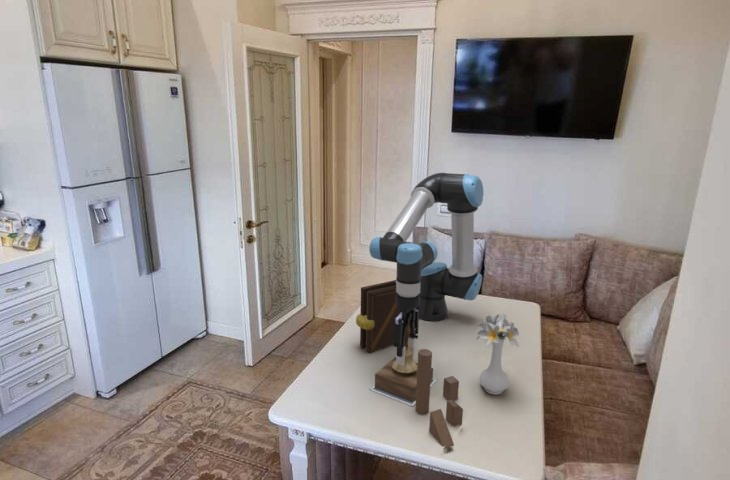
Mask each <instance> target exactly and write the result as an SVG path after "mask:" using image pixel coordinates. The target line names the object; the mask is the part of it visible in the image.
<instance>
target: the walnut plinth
mask: <svg viewBox="0 0 730 480" xmlns="http://www.w3.org/2000/svg"><path fill="white" fill-rule="evenodd" d="M395 361H396V356H395V357H394V358H392V359H391V360H389V362H388V363H386V364H385V365H384V366H382V367H381V368H380V369H379V370H378V371H377V372H376V373H375V374H374V385H375V388H377V389H379V390H382V391H385V392H387V393H390V394H392V395H395V396H398V397H400V398H403V399H405V400H408V401H411V402H414V401H415V400H416V387H417V370H416V371H414V372H412V373H400V372H397V371H395V370H394V369H393V367H392V364H393V363H394V362H395ZM414 362H415V361H414ZM415 363H416V364H417V366H418V362H415ZM433 378H434V367H431V380H430V384H431V383H432V382H433Z"/></svg>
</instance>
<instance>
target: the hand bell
mask: <svg viewBox="0 0 730 480" xmlns="http://www.w3.org/2000/svg"><path fill="white" fill-rule="evenodd" d="M409 335H410V325H409V326H408V327H407V332H406V337H405V343H404V346H405V365H404V366H402V365H399V364H396V361H395V362H394V363H393V364H392V367H393V369H394V370H395V371H397V372H400V373H412V372H414V371H416V370H417V367H418V366H417V364H416V363H417V362H416V363H415V361H414V357H413V356H412V351H411V350H409V349H408V338H409Z"/></svg>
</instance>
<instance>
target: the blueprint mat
mask: <svg viewBox="0 0 730 480" xmlns="http://www.w3.org/2000/svg"><path fill="white" fill-rule="evenodd" d="M437 381H438V379H437V378H434V377H433V382H432V383H431V384H430V389H431V388H433V386H434V385H435V384H436V383H437ZM368 390H369V391H371V392H374V393H376V394H378V395H381V396H384V397H386V398H389V399H391V400H394V401H397V402H399V403H402V404H404V405H407V406H409V407H412V408H414V407H415V406H416V400H415V401H414V402H411V401H408V400H405V399H403V398H400V397H398V396H395V395H392V394H390V393H387V392H385V391H382V390H379V389H377V388H375V384H373V385H372V386H371V387H370V388H369V389H368Z"/></svg>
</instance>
